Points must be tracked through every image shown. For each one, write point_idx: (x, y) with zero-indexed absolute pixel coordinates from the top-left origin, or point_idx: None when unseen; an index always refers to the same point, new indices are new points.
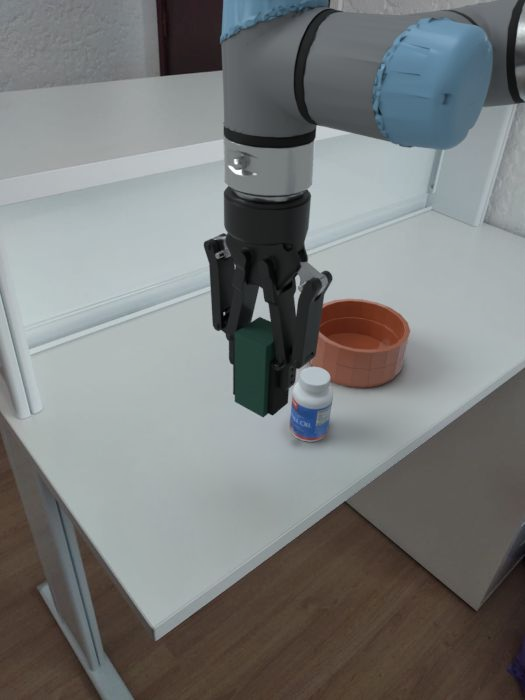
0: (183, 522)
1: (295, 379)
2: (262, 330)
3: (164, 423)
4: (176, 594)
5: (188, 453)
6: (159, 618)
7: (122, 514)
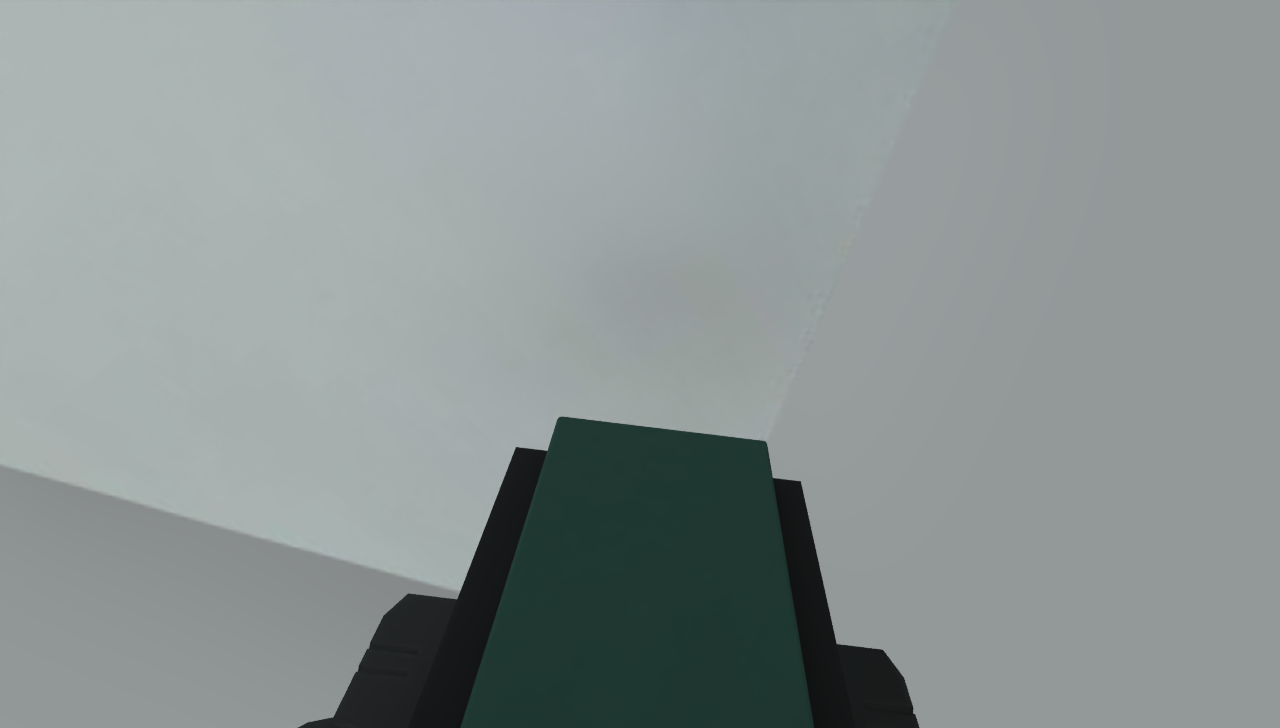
0: None
1: (907, 692)
2: None
3: (193, 174)
4: None
5: (374, 245)
6: None
7: (412, 505)
